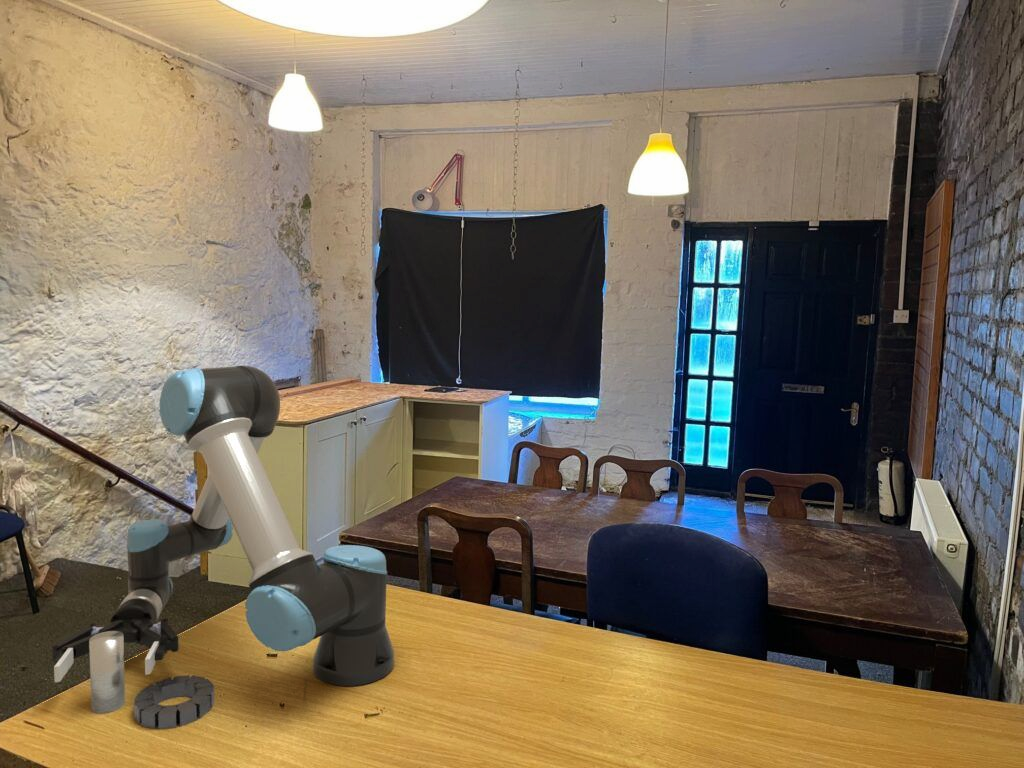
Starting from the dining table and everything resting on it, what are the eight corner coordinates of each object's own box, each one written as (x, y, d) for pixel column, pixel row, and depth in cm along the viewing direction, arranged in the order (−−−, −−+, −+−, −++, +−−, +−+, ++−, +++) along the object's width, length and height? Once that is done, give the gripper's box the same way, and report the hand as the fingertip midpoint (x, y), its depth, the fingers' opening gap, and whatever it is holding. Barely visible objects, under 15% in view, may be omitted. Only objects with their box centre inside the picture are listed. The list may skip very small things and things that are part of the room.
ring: (218, 685, 128) (218, 672, 127) (207, 723, 116) (207, 709, 116) (145, 692, 125) (144, 679, 124) (126, 732, 113) (126, 717, 113)
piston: (128, 695, 123) (127, 629, 122) (120, 711, 119) (118, 643, 117) (96, 698, 122) (94, 632, 121) (87, 715, 117) (84, 645, 116)
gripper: (205, 629, 142) (184, 684, 122) (65, 639, 136) (18, 699, 116) (204, 593, 141) (183, 642, 121) (64, 602, 135) (16, 655, 115)
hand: (102, 670), depth 118 cm, fingers open, 13 cm apart
